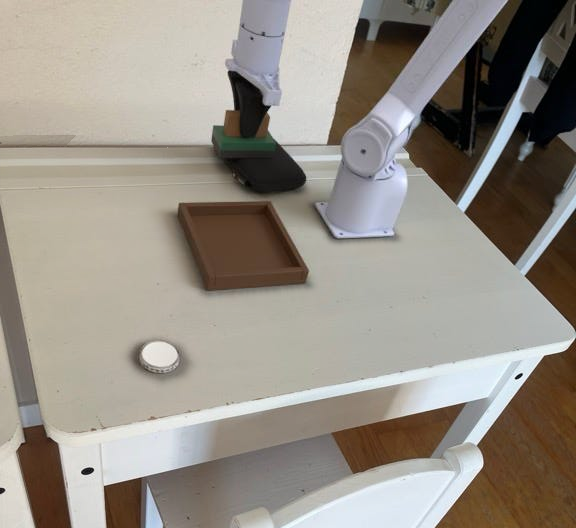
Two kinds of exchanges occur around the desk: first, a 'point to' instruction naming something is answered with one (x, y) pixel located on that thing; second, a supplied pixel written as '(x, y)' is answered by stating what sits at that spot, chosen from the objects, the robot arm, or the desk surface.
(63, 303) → the desk surface
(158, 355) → the white bottle cap
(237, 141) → the brush
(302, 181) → the carrying case
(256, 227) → the tray
